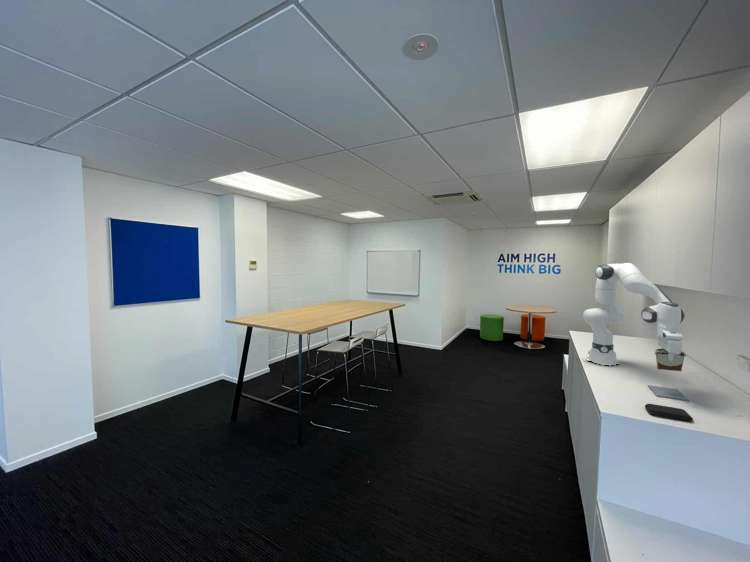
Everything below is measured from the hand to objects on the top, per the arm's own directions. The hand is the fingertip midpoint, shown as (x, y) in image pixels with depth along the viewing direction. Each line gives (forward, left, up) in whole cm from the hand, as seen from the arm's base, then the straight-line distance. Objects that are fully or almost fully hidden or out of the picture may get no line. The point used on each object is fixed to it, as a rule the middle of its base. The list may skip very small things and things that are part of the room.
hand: (667, 358), depth 157 cm
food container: (-1, 0, -6) cm, 6 cm away
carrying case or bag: (+30, -8, -20) cm, 37 cm away
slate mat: (0, 0, -19) cm, 19 cm away
